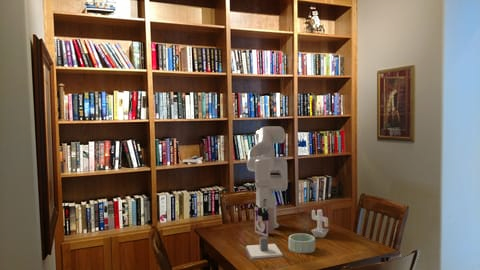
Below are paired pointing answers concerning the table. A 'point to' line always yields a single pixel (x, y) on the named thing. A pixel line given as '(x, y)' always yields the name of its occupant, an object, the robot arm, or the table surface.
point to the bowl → (301, 243)
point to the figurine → (319, 224)
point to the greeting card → (264, 223)
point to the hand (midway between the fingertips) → (263, 218)
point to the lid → (263, 249)
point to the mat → (261, 258)
